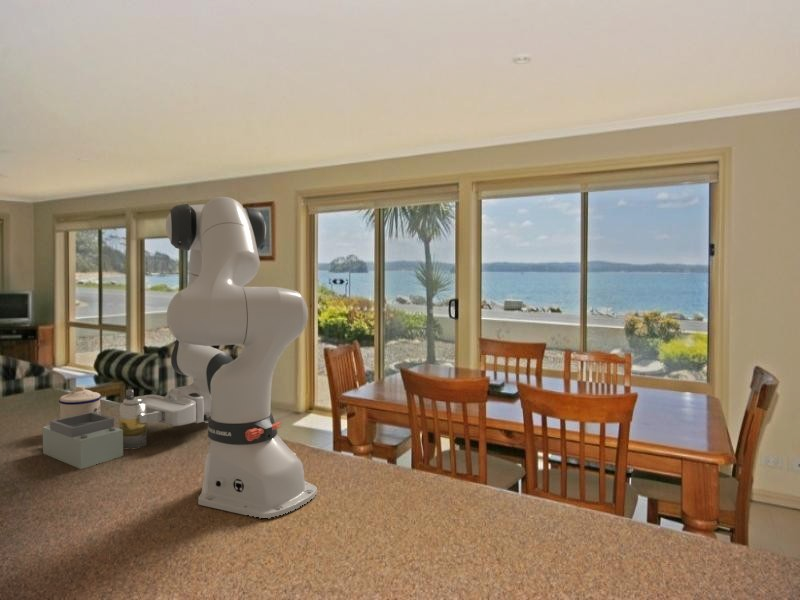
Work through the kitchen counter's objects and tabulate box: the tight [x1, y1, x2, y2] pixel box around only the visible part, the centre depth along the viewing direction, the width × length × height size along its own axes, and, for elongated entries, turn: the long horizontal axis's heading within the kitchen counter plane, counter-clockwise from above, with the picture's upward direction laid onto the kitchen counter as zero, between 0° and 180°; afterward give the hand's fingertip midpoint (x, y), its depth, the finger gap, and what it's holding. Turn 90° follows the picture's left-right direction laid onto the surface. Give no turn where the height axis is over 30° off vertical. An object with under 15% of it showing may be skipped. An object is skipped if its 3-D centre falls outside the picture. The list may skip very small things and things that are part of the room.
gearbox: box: [42, 412, 124, 470], centre depth 118 cm, size 20×9×8 cm, turn 58°
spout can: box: [119, 388, 148, 449], centre depth 124 cm, size 6×6×13 cm
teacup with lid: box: [58, 385, 102, 419], centre depth 134 cm, size 12×9×12 cm
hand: (129, 416), depth 123 cm, fingers closed on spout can, 6 cm apart
